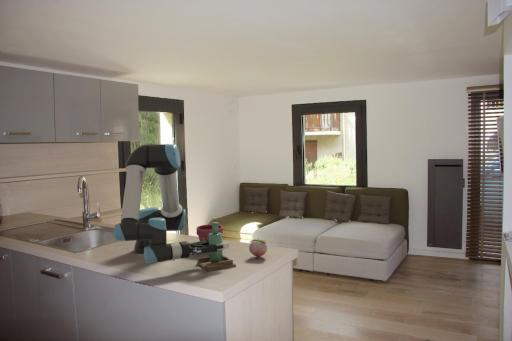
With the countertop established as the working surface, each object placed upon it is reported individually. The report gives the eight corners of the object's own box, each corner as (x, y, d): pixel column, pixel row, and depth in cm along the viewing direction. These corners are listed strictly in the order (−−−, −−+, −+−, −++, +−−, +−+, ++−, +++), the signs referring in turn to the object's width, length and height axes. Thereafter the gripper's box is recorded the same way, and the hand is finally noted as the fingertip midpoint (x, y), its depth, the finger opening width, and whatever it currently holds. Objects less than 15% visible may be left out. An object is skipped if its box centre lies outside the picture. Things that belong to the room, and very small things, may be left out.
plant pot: (210, 254, 212) (209, 230, 211) (191, 250, 220) (191, 227, 219) (228, 249, 223) (227, 226, 222) (209, 245, 231) (209, 223, 231)
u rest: (196, 263, 195) (196, 257, 195) (223, 259, 202) (223, 253, 202) (208, 271, 183) (208, 265, 183) (235, 266, 190) (235, 260, 190)
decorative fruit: (269, 255, 208) (269, 236, 208) (265, 260, 200) (265, 240, 200) (251, 254, 211) (251, 235, 210) (247, 258, 203) (247, 239, 202)
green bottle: (207, 260, 194) (206, 222, 193) (219, 258, 197) (218, 220, 196) (212, 263, 188) (211, 224, 187) (225, 261, 191) (224, 222, 190)
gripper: (172, 253, 192) (217, 247, 203) (187, 263, 175) (234, 256, 187) (172, 238, 191) (216, 232, 203) (186, 246, 175) (234, 240, 186)
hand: (225, 243), depth 195 cm, fingers closed on green bottle, 6 cm apart
